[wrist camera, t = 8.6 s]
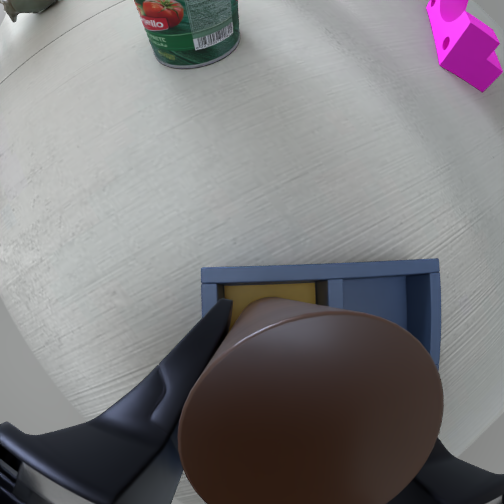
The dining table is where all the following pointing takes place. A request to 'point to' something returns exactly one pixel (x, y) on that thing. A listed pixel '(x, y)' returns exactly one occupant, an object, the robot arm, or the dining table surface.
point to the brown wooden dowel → (310, 409)
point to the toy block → (464, 43)
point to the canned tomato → (190, 30)
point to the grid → (340, 291)
